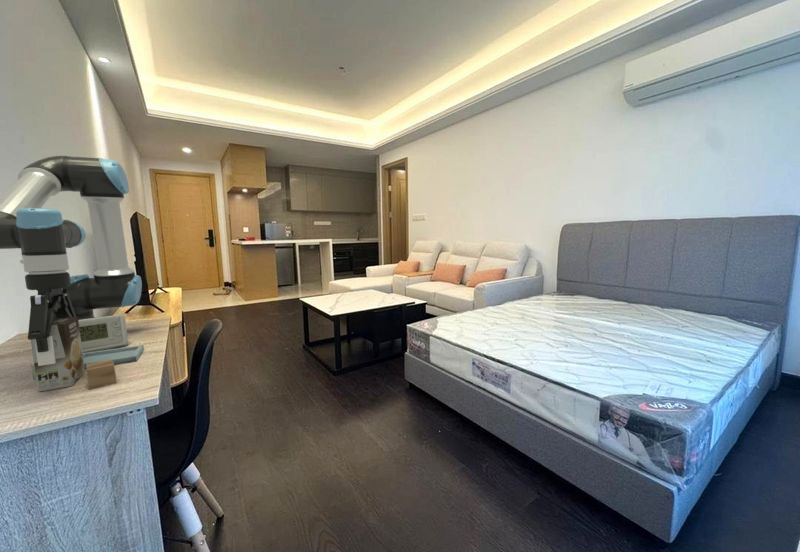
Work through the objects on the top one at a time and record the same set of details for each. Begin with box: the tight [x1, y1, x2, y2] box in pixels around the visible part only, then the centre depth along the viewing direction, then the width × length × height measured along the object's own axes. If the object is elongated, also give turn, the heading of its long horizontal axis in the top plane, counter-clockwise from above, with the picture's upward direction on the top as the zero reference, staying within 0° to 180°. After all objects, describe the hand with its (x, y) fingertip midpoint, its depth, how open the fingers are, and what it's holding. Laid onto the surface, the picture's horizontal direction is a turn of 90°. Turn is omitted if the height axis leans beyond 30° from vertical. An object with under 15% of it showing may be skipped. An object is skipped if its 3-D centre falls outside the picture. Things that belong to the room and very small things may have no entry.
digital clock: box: [78, 314, 129, 353], centre depth 108 cm, size 16×9×11 cm, turn 123°
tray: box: [83, 344, 145, 370], centre depth 99 cm, size 12×15×2 cm
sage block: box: [30, 363, 37, 381], centre depth 88 cm, size 4×5×4 cm
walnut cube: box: [85, 360, 117, 390], centre depth 83 cm, size 5×5×5 cm
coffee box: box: [30, 317, 86, 392], centre depth 83 cm, size 9×6×16 cm
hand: (59, 355), depth 83 cm, fingers open, 13 cm apart
